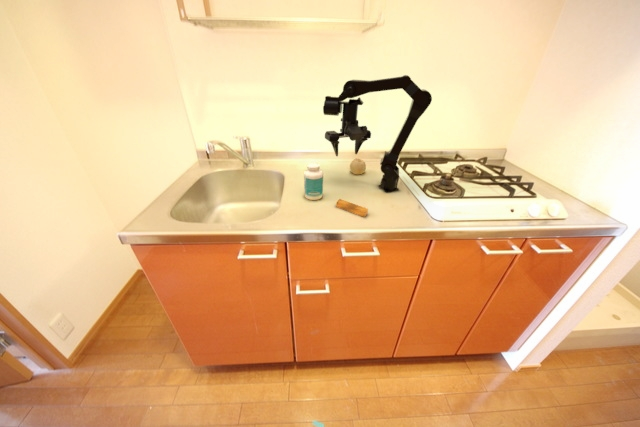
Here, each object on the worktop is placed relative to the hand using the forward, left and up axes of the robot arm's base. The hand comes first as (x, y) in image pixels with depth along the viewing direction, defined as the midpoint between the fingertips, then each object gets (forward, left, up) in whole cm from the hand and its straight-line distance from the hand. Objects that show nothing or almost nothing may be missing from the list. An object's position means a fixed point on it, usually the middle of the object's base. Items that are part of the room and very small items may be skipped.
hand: (346, 155), depth 98 cm
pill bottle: (+18, +8, -13) cm, 24 cm away
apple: (-11, -8, -13) cm, 19 cm away
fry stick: (+8, +23, -13) cm, 27 cm away
